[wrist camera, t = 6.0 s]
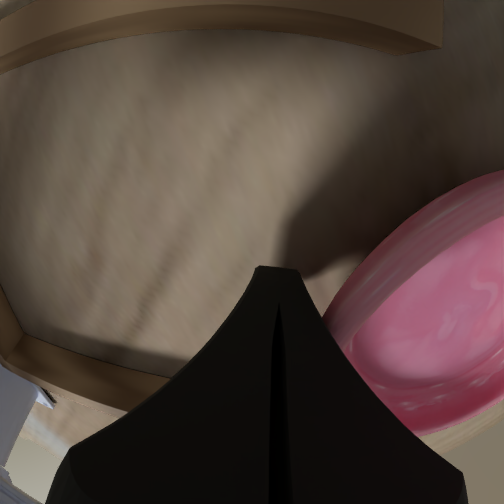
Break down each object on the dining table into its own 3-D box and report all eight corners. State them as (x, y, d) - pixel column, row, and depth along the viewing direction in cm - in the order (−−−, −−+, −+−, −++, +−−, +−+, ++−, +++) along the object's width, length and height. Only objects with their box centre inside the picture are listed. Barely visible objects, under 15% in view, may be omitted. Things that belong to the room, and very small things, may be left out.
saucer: (559, 294, 9) (586, 331, 6) (390, 412, 14) (397, 458, 12) (506, 74, 5) (576, 87, 2) (230, 301, 10) (214, 374, 8)
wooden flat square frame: (20, 341, 15) (2, 367, 12) (-50, 78, 6) (-87, 90, 4) (299, 406, 14) (298, 448, 12) (399, 17, 5) (443, -2, 3)
